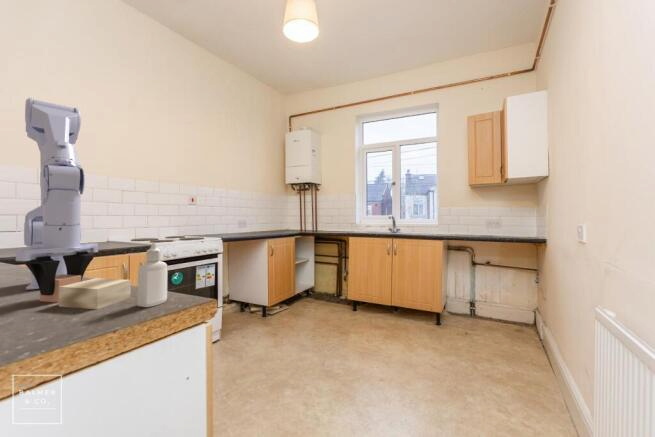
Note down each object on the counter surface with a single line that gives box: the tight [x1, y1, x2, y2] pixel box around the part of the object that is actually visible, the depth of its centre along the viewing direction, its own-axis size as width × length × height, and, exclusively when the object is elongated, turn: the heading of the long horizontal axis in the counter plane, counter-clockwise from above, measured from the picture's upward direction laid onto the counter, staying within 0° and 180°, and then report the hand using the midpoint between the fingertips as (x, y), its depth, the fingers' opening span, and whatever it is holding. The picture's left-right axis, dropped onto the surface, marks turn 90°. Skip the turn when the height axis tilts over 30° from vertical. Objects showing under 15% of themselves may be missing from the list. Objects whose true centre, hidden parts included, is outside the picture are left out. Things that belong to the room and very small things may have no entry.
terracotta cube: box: [38, 274, 82, 304], centre depth 62 cm, size 4×4×4 cm
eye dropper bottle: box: [136, 242, 168, 308], centre depth 60 cm, size 4×6×12 cm
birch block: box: [58, 277, 132, 310], centre depth 60 cm, size 8×8×4 cm
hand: (60, 291), depth 62 cm, fingers open, 5 cm apart
